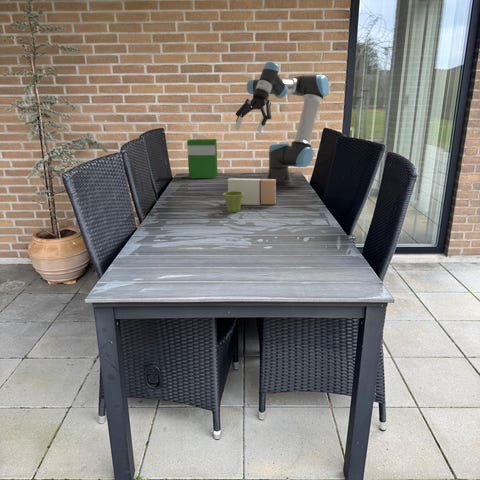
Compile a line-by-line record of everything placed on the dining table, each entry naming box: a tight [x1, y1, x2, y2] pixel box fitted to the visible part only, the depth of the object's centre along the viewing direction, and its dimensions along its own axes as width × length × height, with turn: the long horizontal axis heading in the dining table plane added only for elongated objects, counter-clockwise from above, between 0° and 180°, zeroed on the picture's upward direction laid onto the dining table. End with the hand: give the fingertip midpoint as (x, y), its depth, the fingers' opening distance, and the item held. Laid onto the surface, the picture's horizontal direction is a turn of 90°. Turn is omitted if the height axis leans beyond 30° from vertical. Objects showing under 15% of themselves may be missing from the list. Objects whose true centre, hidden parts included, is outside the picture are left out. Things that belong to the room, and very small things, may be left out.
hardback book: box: [186, 138, 219, 179], centre depth 288 cm, size 18×7×24 cm, turn 86°
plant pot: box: [222, 191, 243, 213], centre depth 212 cm, size 9×9×9 cm
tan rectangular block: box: [260, 178, 277, 205], centre depth 222 cm, size 3×7×12 cm, turn 80°
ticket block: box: [227, 177, 262, 206], centre depth 224 cm, size 3×16×12 cm, turn 80°
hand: (247, 130), depth 220 cm, fingers open, 13 cm apart
